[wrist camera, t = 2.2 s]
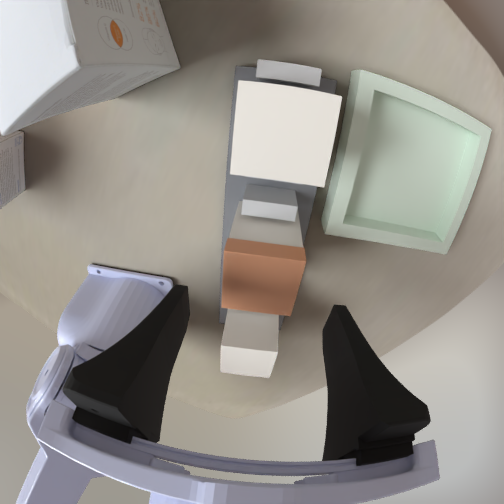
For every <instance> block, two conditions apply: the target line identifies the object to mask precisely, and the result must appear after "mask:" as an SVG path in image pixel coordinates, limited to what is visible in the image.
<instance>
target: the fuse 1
mask: <svg viewBox="0 0 504 504" xmlns="http://www.w3.org/2000/svg"><path fill="white" fill-rule="evenodd" d="M278 333H279V315H276V314H267V313H259V312H251V311H243V310H235V309H228V311H227V316H226V321H225V326H224V332H223V337H222V342H221V363H220V372H224V373H231V374H238V375H246V376H255V377H265V378H270V375H271V372H272V369H273V366H274V363H275V360H276V357H277V354H278Z"/></svg>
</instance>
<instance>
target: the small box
mask: <svg viewBox="0 0 504 504" xmlns="http://www.w3.org/2000/svg"><path fill="white" fill-rule="evenodd" d="M179 68H180V64H179V61H178V58H177V55H176V52H175V49H174V46H173V43H172V40H171V37H170V34H169V30H168V27H167V24H166V21H165V18H164V15H163V11H162V8H161V5H160V2H159V0H0V132H1V135H2V136H6V135H8V134H11V133H13V132H15V131H17V130H20V129H22V128H24V127H27V126H29V125H31V124H34V123H36V122H39V121H42V120H44V119H47V118H50V117H53V116H56V115H59V114H62V113H65V112H68V111H71V110H74V109H78V108H81V107H84V106H88V105H92V104H96V103H100V102H104V101H107V100H112V99H115V98H117V97H119V96H121V95H123V94H125V93H127V92H129V91H131V90H133V89H135V88H137V87H139V86H141V85H143V84H145V83H147V82H150V81H152V80H154V79H156V78H159V77H161V76H163V75H166V74H168V73H170V72H173V71H175V70H178V69H179Z"/></svg>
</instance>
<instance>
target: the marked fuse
mask: <svg viewBox="0 0 504 504" xmlns="http://www.w3.org/2000/svg"><path fill="white" fill-rule="evenodd" d="M242 202H243V201H239V203H238V207H237V210H236V214H235V217H234V221H233V224H232V228H231V231H230V235H229V238H227V242H226V245H225V249H224V258H223V280H222V304H221V308H228V309H235V310H243V311H251V312H259V313H267V314H276V315H285V316H291V313H292V309H293V306H294V303H295V300H296V296H297V293H298V289H299V286H300V283H301V279H302V276H303V272H304V269H305V265H306V255H305V248H303V242H302V235H301V228H300V221H299V215H298V209H297V213H296V218H295V222H294V221H287V220H279V219H272V218H265V217H257V216H249V215H241V212H242Z"/></svg>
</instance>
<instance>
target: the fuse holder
mask: <svg viewBox="0 0 504 504" xmlns="http://www.w3.org/2000/svg"><path fill="white" fill-rule="evenodd" d="M321 71H322V69H320V68H315V67H310V66H304V65H298V64H292V63H285V62H278V61H270V60H260V59H258V62H257V68H256V67H245V66H236V70H235V79H234V89H233V99H232V110H231V121H230V132H229V145H228V157H227V171H226V185H225V201H224V218H223V236H222V257H221V282H220V313H219V323H223V324H225V321H226V316H227V311H228V308H221V304H222V280H223V258H224V249H225V245H226V242H227V238H229V235H230V231H231V228H232V224H233V221H234V217H235V214H236V210H237V207H238V203H239V201H243V202H242V212H241V215H249V216H257V217H265V218H272V219H279V220H287V221H294V222H295V218H296V213H297V209H298V215H299V221H300V228H301V235H302V242H303V245H304V241H305V237H306V233H307V229H308V225H309V220H310V216H311V212H312V208H313V203H314V199H315V194H316V190H317V186H312V185H306V184H300V183H294V182H287V181H280V180H273V179H265V178H258V177H249V176H241V175H231V174H230V167H231V154H232V142H233V131H234V120H235V109H236V99H237V89H238V80H241V81H253V82H263V83H271V84H279V85H286V86H293V87H299V88H305V89H310V90H315V91H320V92H325V93H330V94H334V95H335V90H336V84H337V81H336V80H331V79H327V78H322V77H321ZM284 316H285V315H279V331H280V330H281V326H282V323H283V319H284Z"/></svg>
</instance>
